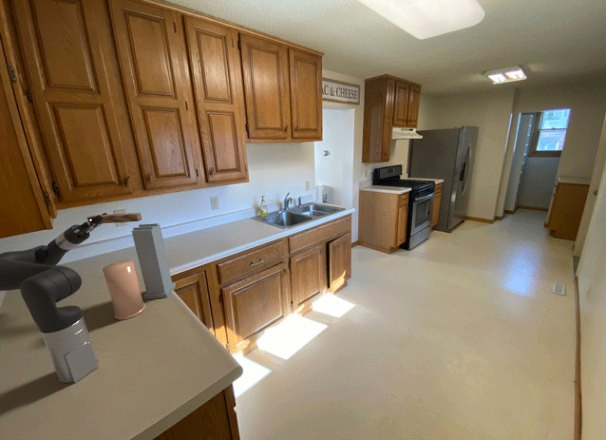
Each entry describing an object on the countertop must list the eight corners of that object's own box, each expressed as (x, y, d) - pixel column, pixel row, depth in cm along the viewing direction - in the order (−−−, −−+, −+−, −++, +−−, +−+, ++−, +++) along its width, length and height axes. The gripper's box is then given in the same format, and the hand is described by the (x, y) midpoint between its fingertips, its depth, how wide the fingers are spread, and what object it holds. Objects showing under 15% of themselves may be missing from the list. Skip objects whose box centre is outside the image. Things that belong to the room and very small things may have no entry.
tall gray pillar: (175, 285, 125) (162, 221, 116) (167, 297, 116) (152, 228, 107) (154, 287, 125) (140, 223, 116) (144, 299, 115) (127, 229, 106)
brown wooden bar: (141, 219, 111) (140, 212, 110) (138, 221, 108) (136, 214, 107) (94, 222, 109) (92, 215, 109) (88, 224, 107) (86, 217, 106)
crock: (150, 307, 109) (140, 262, 103) (125, 322, 99) (111, 274, 94) (135, 301, 113) (124, 258, 107) (109, 316, 104) (95, 269, 98)
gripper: (91, 238, 117) (120, 218, 115) (66, 250, 103) (99, 227, 102) (78, 225, 115) (108, 204, 113) (51, 235, 101) (84, 212, 100)
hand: (103, 215), depth 107 cm, fingers closed on brown wooden bar, 3 cm apart
